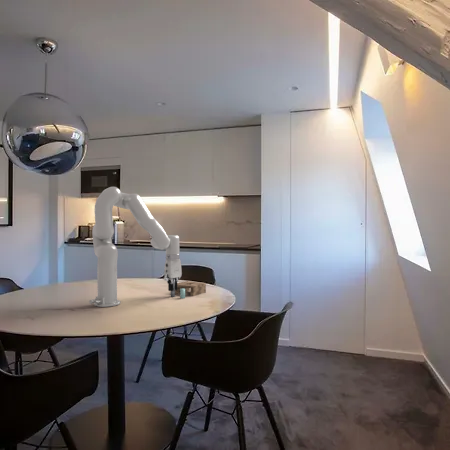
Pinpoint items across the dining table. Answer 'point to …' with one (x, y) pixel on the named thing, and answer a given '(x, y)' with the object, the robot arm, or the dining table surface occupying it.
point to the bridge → (195, 287)
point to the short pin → (182, 293)
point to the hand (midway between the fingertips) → (172, 290)
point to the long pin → (173, 288)
